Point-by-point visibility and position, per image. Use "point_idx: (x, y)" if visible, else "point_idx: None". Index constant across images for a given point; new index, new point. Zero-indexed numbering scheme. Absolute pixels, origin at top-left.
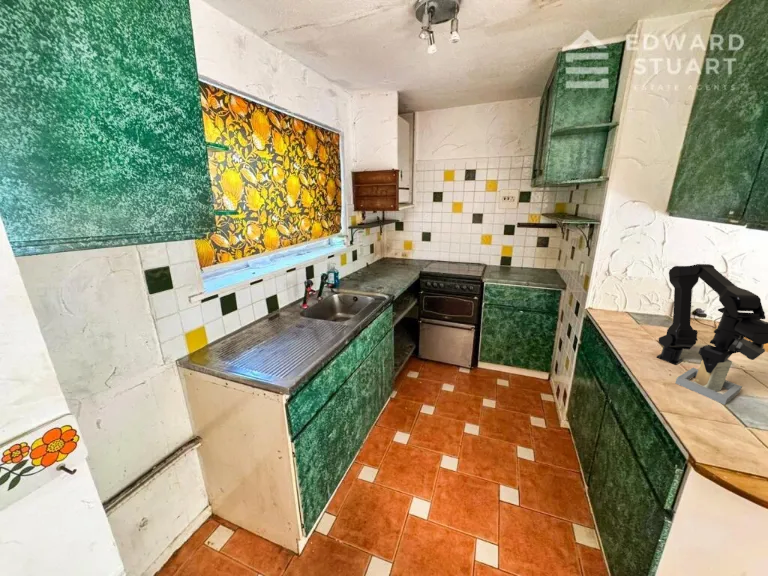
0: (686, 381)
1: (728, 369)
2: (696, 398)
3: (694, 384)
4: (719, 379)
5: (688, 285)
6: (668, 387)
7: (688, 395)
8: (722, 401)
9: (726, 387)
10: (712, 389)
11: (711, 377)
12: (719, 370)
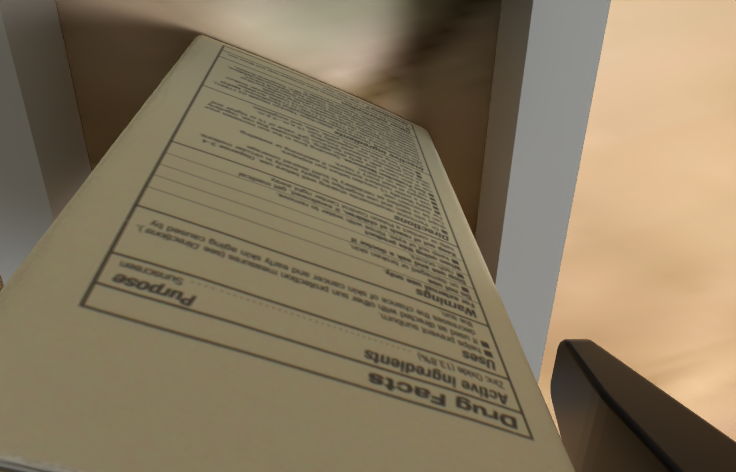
0: (546, 335)
1: (102, 221)
2: (697, 127)
3: (552, 266)
4: (290, 149)
5: None
6: (669, 350)
7: (692, 196)
8: None
9: (48, 16)
10: (341, 101)
11: (464, 247)
12: (375, 307)
